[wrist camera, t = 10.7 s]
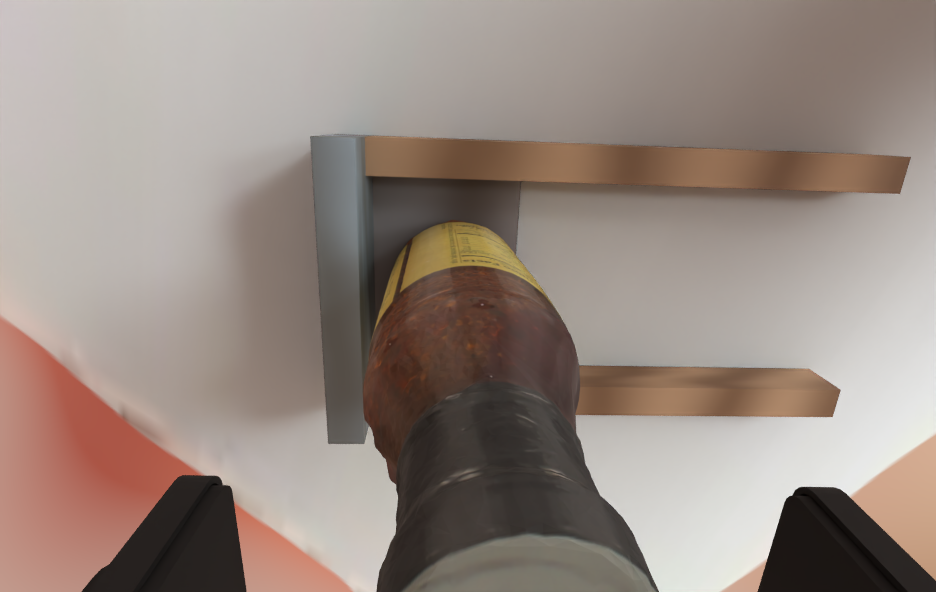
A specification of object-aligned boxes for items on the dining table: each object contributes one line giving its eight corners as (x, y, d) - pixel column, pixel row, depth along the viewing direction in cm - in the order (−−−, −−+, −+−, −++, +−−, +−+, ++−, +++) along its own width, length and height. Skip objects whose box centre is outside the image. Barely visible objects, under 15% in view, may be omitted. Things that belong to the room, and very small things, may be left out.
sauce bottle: (452, 356, 27) (470, 890, 8) (367, 272, 25) (143, 699, 6) (547, 276, 26) (829, 682, 7) (465, 182, 24) (541, 382, 5)
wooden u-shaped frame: (867, 154, 25) (968, 161, 20) (801, 394, 29) (871, 446, 24) (337, 134, 23) (310, 136, 19) (348, 389, 28) (328, 443, 23)
